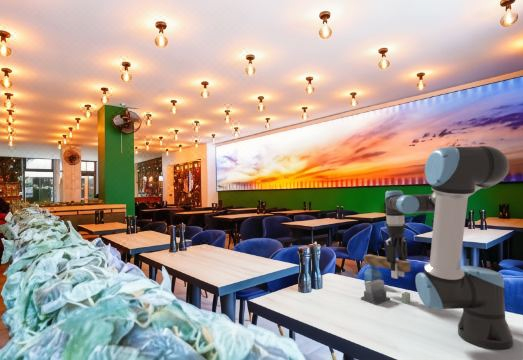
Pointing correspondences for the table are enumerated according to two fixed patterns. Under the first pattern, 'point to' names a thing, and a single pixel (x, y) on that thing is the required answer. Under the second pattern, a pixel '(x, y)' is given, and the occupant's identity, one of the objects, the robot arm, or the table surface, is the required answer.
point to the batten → (382, 262)
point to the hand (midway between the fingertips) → (397, 276)
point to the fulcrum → (375, 292)
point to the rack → (404, 296)
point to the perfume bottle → (372, 274)
